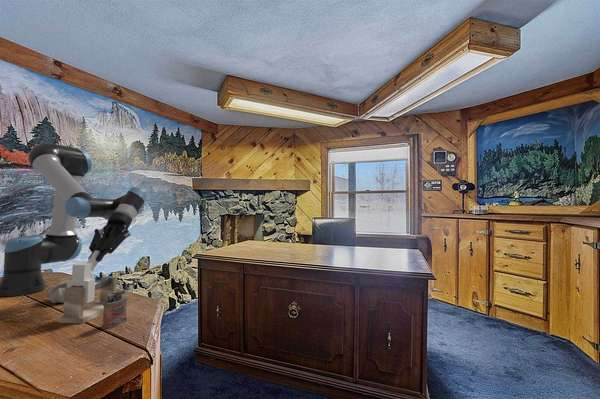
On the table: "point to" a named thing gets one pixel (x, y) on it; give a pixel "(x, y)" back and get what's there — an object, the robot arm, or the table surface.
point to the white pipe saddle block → (83, 280)
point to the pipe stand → (75, 301)
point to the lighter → (114, 310)
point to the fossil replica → (57, 292)
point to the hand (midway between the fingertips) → (88, 268)
